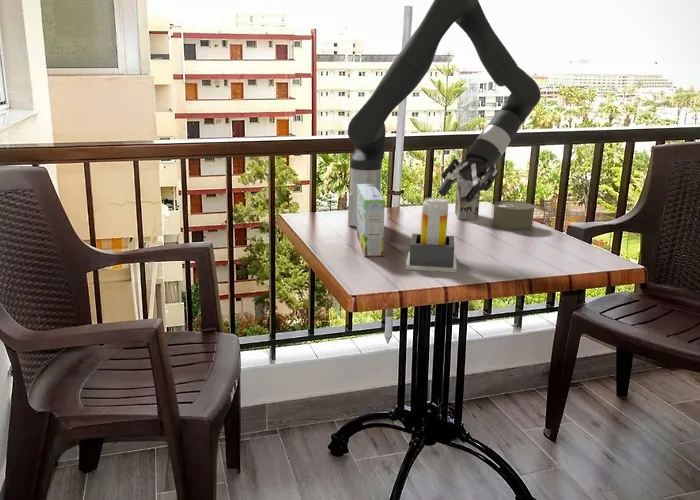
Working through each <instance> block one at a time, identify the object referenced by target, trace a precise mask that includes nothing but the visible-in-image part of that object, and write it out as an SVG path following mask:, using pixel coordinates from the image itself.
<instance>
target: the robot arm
mask: <svg viewBox="0 0 700 500" xmlns="http://www.w3.org/2000/svg"><path fill="white" fill-rule="evenodd" d="M454 23H456V24H457V25H458V26H459V27H460V28H461V30H462V31H463V32H464V33H465V34H466V35H467V37H468V38H469V40H470V41H471V43H472V45H473V47H474V49H475V50H476V53H477V56H478V58H479V60H480V62H481V64H482V65H483V67H484V69H485V70H486V71H487V73H488V75H489V76H490V78H491V79H492V80H493V82H494V83H495V84H496V85H497V86H498V87H506V89H507V90H509V92H510V94H509V96H508V97H507V99H506V101H505V102H504V104H503V105H502V106H501V108H500V110H499V111H498V112H497V113H496V114H495V115H494V116H493V117H492V119H491V121H489V123H488V124H487V126H485V128H484V129H483V130H482V131H481V132H480V134H479V135H478V137H477V138H476V140H475V141H474V142H473V144H471V146H470V147H469V149H468V150H467V152H466V158H465V159H464V160H462V162H461V161H459V160H458V159H457V158H454V159H453V160H452V161H451V162H450V163H449V165H448V166H447V167H446V168H445V170H444V171H443V172H442V173H441V177H442V179H444V181H443V182H442V184H441V185H440V187H439V189H438V193H439V194H440V196H441V197H445V196H446V195H447V194H448V192H449V191H450V190H451V188H452V187H453V185H455V184H457V182H461V181H463V180H469V181H471V182H473V186H471V187H470V188H469V189H468V191H467V192H466V194H465V195H464V197H463V198H464V200H465V201H466V202H468V203H469V202H470V201H472V200H473V199H474V197H475V196H476V194H477V193H478V192H480V193H481V191H484V192H487V191H489V189H490V188H491V186H492V185H493V183H494V181H495V180H496V178H497V176H498V175H499V172H498V170H497V168H496V167H495V166H496V165H497V164H498V161H499V160H500V159H501V157H502V156H503V155H504V153H505V151H506V150H507V149H508V147H509V144H510V143H511V141H512V140H513V139H514V137H515V136H516V135H517V133H518V131H519V129H520V127H521V125H522V124H523V123H525V121H526V119H527V118H528V117H529V115H530V114H531V113H532V111H533V110H534V109H535V107H536V106H537V105H538V104H539V102H540V100H541V97H542V96H541V95H542V94H541V90H540V87H539V85H538V84H537V82H536V81H535V80H534V79H533V78H532V77H531V75H529V74H527V72H525V71H524V69H522V68H521V67H520V66H518V64H517V62H516V61H515V59H514V58H513V56H512V55H511V54H510V52H509V50H508V49H507V47H506V46H505V45H504V43H503V42H502V41H501V39H500V38H499V36H498V35H497V34H496V32H495V31H494V29H493V28H492V26H491V24H490V23H489V21H488V19H487V17H486V15H485V13H484V11H483V8H482V6H481V3H480V2H479V0H433V1H432V3H431V5H430V6H429V8H428V10H427V12H426V14H425V15H424V17H423V19H422V21H421V22H420V23H419V25H418V27H416V29H415V31H414V32H413V34H412V35H411V36H410V37H409V39H408V40H407V42H406V44H405V45H404V46H403V48H402V49H401V51H400V52H399V53H398V55H397V56H396V58H395V59H394V61H393V62H392V63H391V65H390V66H389V68H388V69H387V70H386V72H385V74H384V76H383V77H382V79H381V80H380V81H379V83H378V85H377V86H376V88H375V89H374V91H373V93H372V95H371V96H370V97H369V99H368V100H367V101H366V102H365V103H364V105H362V107H361V108H360V109H359V110H358V111H357V113H356V114H355V115H354V116H353V117H352V118H351V119H350V121H349V124H348V126H347V135H348V139H349V140H350V142H351V143H353V144H354V151H353V154H352V156H351V159H350V172H349V173H350V176H349V177H350V178H349V179H350V180H349V181H350V182H349V183H350V184H349V194H348V210H347V211H348V212H347V213H348V214H347V215H348V216H347V218H348V219H347V220H348V221H347V223H348V224H347V226H351V227H355V228H357V184H375V186H376V188H377V189H378V191H379V192H380V194H381V195H382V193H381V192H382V170H383V169H382V167H383V160H384V157H385V147H386V144H385V143H386V124H385V122H386V120H387V119H388V117H389V116H390V115H391V113H392V112H393V111H394V110H395V109H396V107H397V106H399V105H400V104H401V103H403V101H404V100H405V99H406V98H407V97H408V96H409V95H410V94H412V92H413V91H414V90H415V89H416V88H417V87H418V86H419V84H420V83H421V82H422V80H423V79H424V77H425V76H426V75H427V73H428V72H429V70H430V68H431V67H432V64H433V61H434V59H435V56H436V53H437V50H438V47H439V45H440V42H441V41H442V38H443V37H444V36H445V34H446V33H447V32H448V30H449V29H450V28H451V27H452V25H453V24H454ZM459 172H460V175H461V176H459V175H458V173H459Z"/></svg>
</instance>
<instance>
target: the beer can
mask: <svg viewBox="0 0 700 500" xmlns="http://www.w3.org/2000/svg"><path fill="white" fill-rule="evenodd" d="M448 214H449V204H448V200H447V199H446V198H443V197H426V198H424V201H423V203H422V214H421V228H420V229H421V231H420V234H421V243H420V244H433V245H445V243H446V236H447V230H448V229H447V228H448Z"/></svg>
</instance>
